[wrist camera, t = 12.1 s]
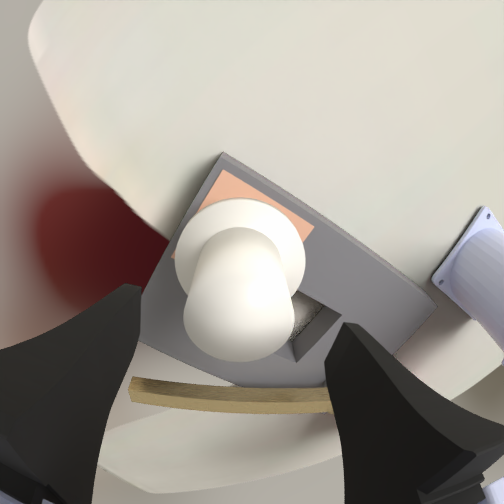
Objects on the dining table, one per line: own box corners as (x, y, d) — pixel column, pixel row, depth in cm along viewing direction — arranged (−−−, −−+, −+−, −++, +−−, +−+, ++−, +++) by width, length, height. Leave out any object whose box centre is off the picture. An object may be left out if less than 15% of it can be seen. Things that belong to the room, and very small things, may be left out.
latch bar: (355, 382, 21) (360, 395, 20) (346, 400, 22) (350, 413, 21) (131, 372, 20) (126, 385, 19) (136, 391, 21) (132, 404, 20)
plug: (318, 224, 17) (361, 292, 10) (259, 307, 19) (266, 397, 13) (217, 166, 16) (198, 202, 9) (167, 262, 18) (130, 342, 11)
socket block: (423, 290, 22) (442, 312, 19) (320, 394, 27) (326, 420, 24) (223, 151, 18) (218, 158, 15) (133, 312, 22) (120, 339, 19)
